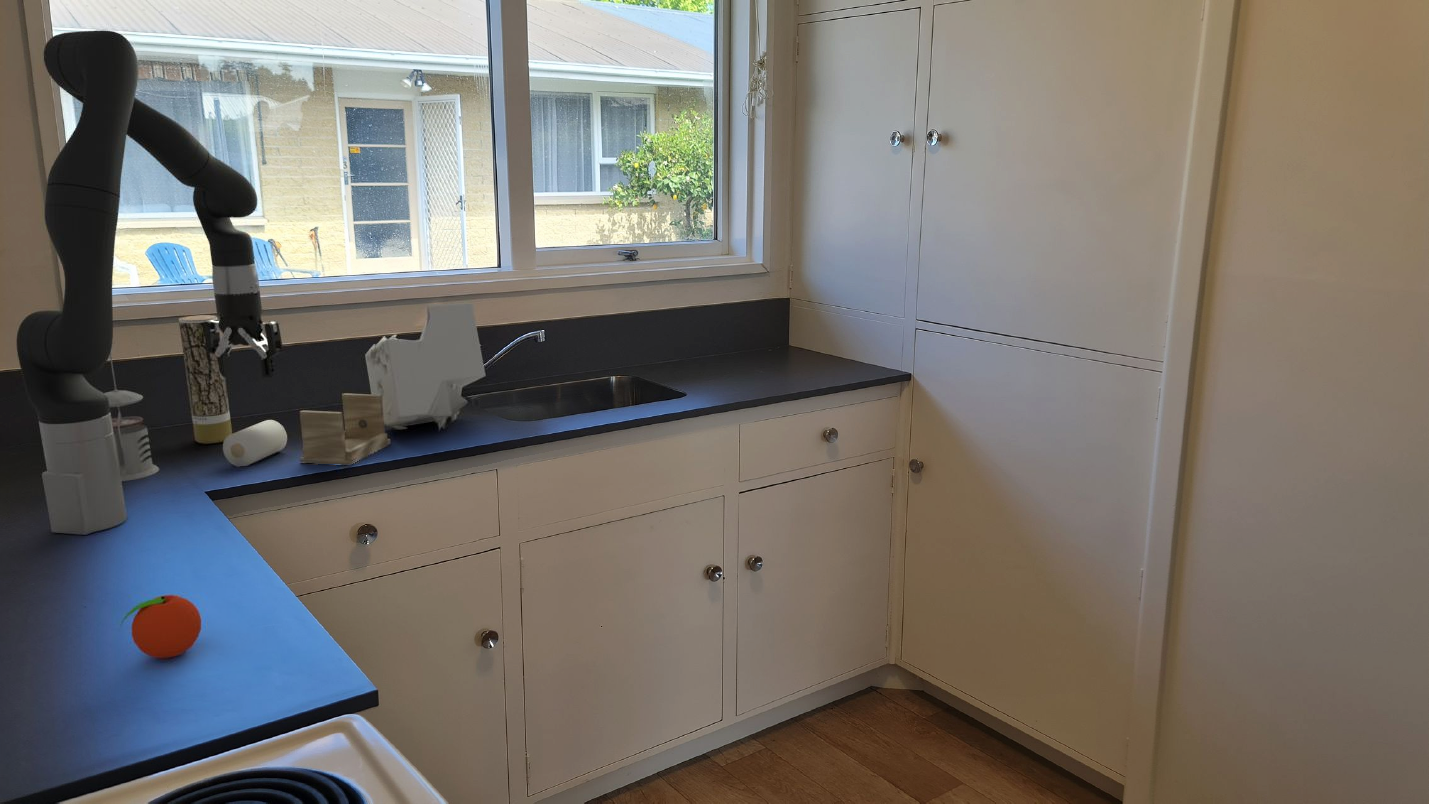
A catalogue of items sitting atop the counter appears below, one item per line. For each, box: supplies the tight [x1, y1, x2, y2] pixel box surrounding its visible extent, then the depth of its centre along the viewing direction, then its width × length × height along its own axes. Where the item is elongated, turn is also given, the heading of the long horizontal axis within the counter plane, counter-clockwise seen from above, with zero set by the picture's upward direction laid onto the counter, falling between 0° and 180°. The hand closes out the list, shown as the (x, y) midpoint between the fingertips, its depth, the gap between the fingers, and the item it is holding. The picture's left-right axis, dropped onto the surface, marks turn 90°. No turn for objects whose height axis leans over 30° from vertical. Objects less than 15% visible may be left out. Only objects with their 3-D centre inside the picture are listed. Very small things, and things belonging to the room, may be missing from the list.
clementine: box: [119, 594, 202, 659], centre depth 111 cm, size 8×7×7 cm
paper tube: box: [178, 314, 233, 445], centre depth 196 cm, size 7×7×25 cm
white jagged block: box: [364, 301, 487, 431], centre depth 205 cm, size 20×16×25 cm
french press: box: [103, 338, 160, 482], centre depth 175 cm, size 10×12×25 cm
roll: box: [222, 419, 288, 467], centre depth 186 cm, size 11×6×6 cm, turn 169°
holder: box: [299, 392, 392, 465], centre depth 188 cm, size 15×10×10 cm, turn 169°
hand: (247, 376), depth 183 cm, fingers open, 8 cm apart
